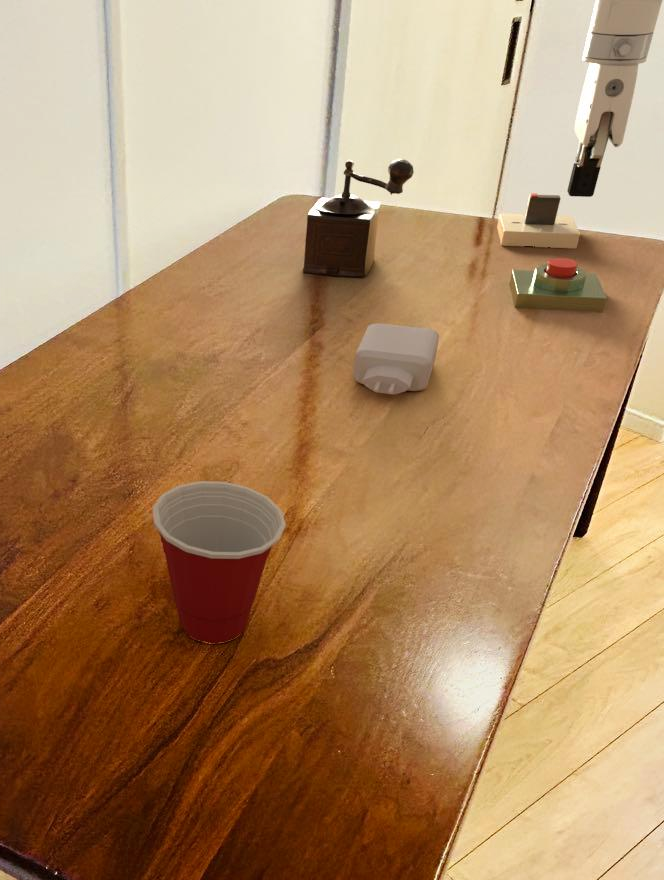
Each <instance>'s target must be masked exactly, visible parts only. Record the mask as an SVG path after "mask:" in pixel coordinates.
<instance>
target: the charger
mask: <svg viewBox="0 0 664 880" xmlns="http://www.w3.org/2000/svg"><path fill="white" fill-rule="evenodd" d="M439 340H440V333H439V332H438V331H436V330H435V329H431V328H426V327H417V326H410V325H409V326H408V325H398V324H390V323H381V322H379V323H377V322H376V323H372V324H369V325H368V326H367V328H366V331H365V333H364V334H363V337H362V339H361V341H360V344H359V346H358V348H357V350H356V352H355V355H354V363H353V371H352V379H353V380H354V382H356V383H359V384H361V385H364V386H365V388H368V389H369V390H371V391H373V392H374V393H380V394H387V395H397V394H401V393H404V392H406V391H411V392H421V391H424V390H425V389H427V388H428V385H429V382H430V378H431V376H432V371H433V368H434V365H435V360H436V358H437V352H438V347H439V342H440V341H439Z"/></svg>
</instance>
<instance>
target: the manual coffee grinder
mask: <svg viewBox="0 0 664 880" xmlns="http://www.w3.org/2000/svg"><path fill="white" fill-rule="evenodd" d="M354 165H355V163H354V161H353V160H352V159H348V160H347V161H346V162H345V164H344V166H345V169H344V171H343V175H344V185H343V191H342V192H341V194H338V195H335V196H333V197H331V198H330V197H329V198H328V197H321V198H319V199H318V200H317V201H316V203H315V204H314V206H313V207H311V209H310V210H309V212H308V214H307V217H306V232H305V243H304V244H305V245H304V259H303V260H304V261H303V268H302V273H306V274H316V275H323V276H333V277H334V276H335V277H339V276H341V277H360V278H361V277H366V276H367V275H368V274H369V272H370V270H371V268H372V267H373V264H374V261H375V250H376V240H377V232H378V225H379V218H380V210H381V202H379V201H370V200H364V199H362V198H360V197H358V196H357V195H354V194H351V192H350V190H351V182H352V179H353V180H355V181H358V182H361V183H366V184H368V185H372V186H375V187H379V188H382V189H385V190H386V191H387V192H389V194H390V195H391V196H392V195H393V194H394V195H395V194H396V195H399V194H400V195H401V194H402V193H403V190H404V189H403V187H404V184H405V183H407V182H408V181H409V180H410V179H411V178H412V177H413V175H414V172H415V171H414V166H413V164H411V162H409V161H408V160H407V159H404V158H398V159H395V160H393V161H392V162H390V164H389V165H388V167H387V172H388V177H389V178H388V179H389V181H388V182H384V181H382V180H381V179H380V180H379V179H377V178H372V177H369V176H364V175H360V174H357V173H355V172H354V170H353V168H354Z"/></svg>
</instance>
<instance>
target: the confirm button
mask: <svg viewBox="0 0 664 880" xmlns="http://www.w3.org/2000/svg"><path fill="white" fill-rule="evenodd" d="M547 264H548V265H547V269H546V273H547V274H549V275H552V276H556V277H573V276H575V273H576V269H577V267H578V265H579V264H578V262H577V261H576V260H573V259H570V258H565V257H561V258H560V257H556V258H551V259H549V260H548V262H547Z"/></svg>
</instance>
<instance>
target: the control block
mask: <svg viewBox="0 0 664 880" xmlns="http://www.w3.org/2000/svg"><path fill="white" fill-rule="evenodd" d="M547 265H548V263H546V264H541V265H539V266H537V267H535V269H534V270H524V269H512V270H511V274H510V279H509V282H508V283H509V288H510V292H511V297H512V301H513V307H514V309H530V310H531V309H533V310H546V311H547V310H549V311H564V312H565V311H566V312H568V311H569V312H583V313H601V314H602V313H604V309H605V306H606V303H607V299H608V297H607V295H606V293H605V291H604V289H603V286H602V284H601V281H600V280H599V279H600V278H599V276H598V274H597V273H591V272H589V273H588V272H586V270H585V269H583V268H581V267H578V266H577V269H576V273H575V276H573V277H556V276H552V275H549V274H547V273H546V269H547Z"/></svg>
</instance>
